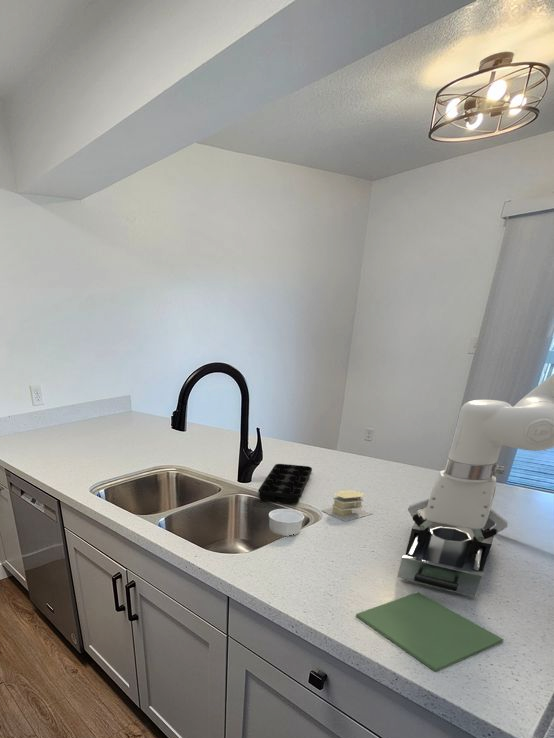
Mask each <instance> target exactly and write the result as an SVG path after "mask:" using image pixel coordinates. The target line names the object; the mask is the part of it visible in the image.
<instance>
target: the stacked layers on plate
mask: <svg viewBox="0 0 554 738" xmlns="http://www.w3.org/2000/svg"><path fill="white" fill-rule="evenodd" d="M334 496H335V497H333V498H332V500H334V502H333V504H332V505H331V506H332V507H329V508H325V509H321V510H320V511H321V512H323V513H325V514H327V515H330V516H332V517H334V518H336V519H339V520H341V521H343V522H349V521H352V520H356V519H359V518H362V517H366V516H371V515H372V514H373V513H372V512H369V511H366V510H364V509H362V508H363V504H362V502H364V498H363V497H365V494H364V493H363V492H361V491H360V492H359V491H355V490H352V489H342V490H340V491H338V492H335V493H334Z"/></svg>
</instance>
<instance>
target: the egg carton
mask: <svg viewBox="0 0 554 738" xmlns="http://www.w3.org/2000/svg"><path fill="white" fill-rule="evenodd" d="M312 472H313V468H312V467H311V466H307V465H298V464H286V463H276V464H274V466H273V467H272V469H271V470H270V472H269V473H268V475H267V476H266V478H265V479H264V481H263V482H262V484H261V485H260V487H259V488H258V499H259V500H260V501H263V502H266V503H267V502H270V503H275V502H277V501H278V502H280V503H282V504H285V505H287V504H288V505H294V504H298V503H299V501H300V498H301V497H302V495H303V492H304V491H305V487H306V485H307V483H308V480H309V478H310V477H311V474H312Z"/></svg>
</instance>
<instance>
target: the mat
mask: <svg viewBox="0 0 554 738" xmlns="http://www.w3.org/2000/svg"><path fill="white" fill-rule="evenodd" d="M355 617H356V618H358V619H359V620H360V621H362V622H363V623H365V625H368V626H369V627H370V628H372V629H373V630H374V631H376V632H377V633H379V634H381V635H382V636H383V637H385V638H386V639H388V641H390V642H392V643H393V644H395V645H396V646H397V647H399V648H401V649H402V650H403V651H405V653H408V654H409V655H410V656H411V657H413V658H415V659H416V660H418V661H419V662H420V663H422V664H423V665H425V666H426V667H428V668H429V669H430V670H431V671H433V672H434V673H435V672H438V671H440V670H442V669H445V668H447V667H449V666H451V665H453V664H456V663H458V662H460V661H463V660H465V659H467V658H469V657H471V656H474V655H477V654H478V653H482V652H483V651H485V650H487V649H489V648H492V647H494V646H496V645H499V644H501V643H503V642H504V638H502V637H500V636H499V635H497V634H495V633H493V632H491V631H490V630H488V629H486V628H484V627H482V626H480V625H479V624H477V623H475V622H473V621H472V620H470V619H468V618H466V617H465V616H462V615H461V614H459V613H457V612H456V611H454V610H452V609H450V608H448V607H446V606H444V605H443V604H441V603H439V602H437V601H435V600H433V599H432V598H430V597H428V596H426V595H425V594H422V593H421V592H419V591H417V592H413V593H411V594H407V595H405V596H402V597H400V598H397V599H394V600H391V601H389V602H386V603H383V604H381V605H377V606H375V607H372V608H369V609H366V610H364V611H360V612H358V613H356V614H355Z"/></svg>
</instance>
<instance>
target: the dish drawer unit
mask: <svg viewBox="0 0 554 738" xmlns="http://www.w3.org/2000/svg"><path fill="white" fill-rule="evenodd" d="M426 508H427V507H426ZM426 508H423V509H420V512H418V513H419V514H420V515H421V516H422V517H423V519H425V518H426V517H425V513H426ZM494 525H495V523H494V522H493V521H492V520H491V519H489V518H488V520H487V522H486V524H485V526H484V527H483V529H484V530H486V529H488V528H490V527H493V526H494ZM436 527H448V528H456V529H459V530H461V531H464V532H466V533H468V534H469V535H470V537H471V543H472V539H473V536H475V535H474V533H473V531H472V529H469V528H463V527H458V526H452V525H447V524H441V523H436V522H434V523H432V524H431V525H430V526H429V531H430V529H433V528H436ZM429 531H428V535H429ZM419 532H420V529H419V527H418V525H417V524H416V523H415V522H414V523H413V525H412V527H411V531H410V534H409V538H408V542H407V546H406V551H405V555H406V556H408V553H409V551H410V549H411V547H412V545H413V543H414V540H415V538H416V536H417V534H418V533H419ZM493 540H494V536H492V537H489V538H487V539H485V540H484V541H482V542H481V544H480V546H483V549H482V554H481V559H480V565H479V570H478V572H481V573H483V572H484V569H485V566H486V563H487V560H488V559H489V554H490V551H491V548H492V546H493V542H494V541H493ZM471 543H470V544H471Z"/></svg>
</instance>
